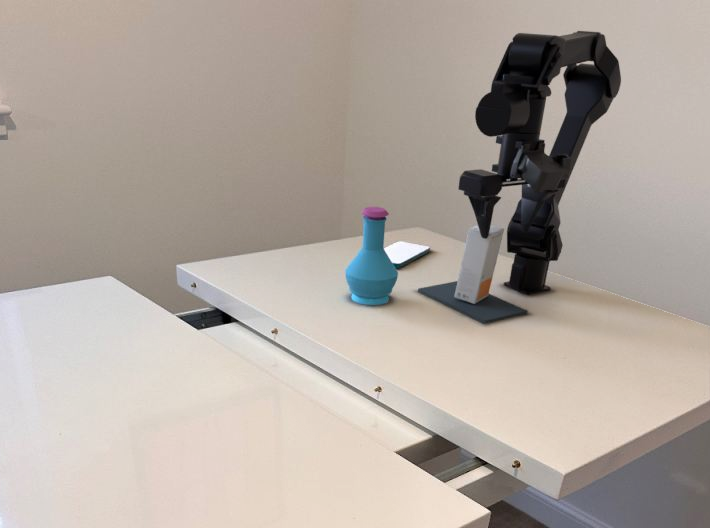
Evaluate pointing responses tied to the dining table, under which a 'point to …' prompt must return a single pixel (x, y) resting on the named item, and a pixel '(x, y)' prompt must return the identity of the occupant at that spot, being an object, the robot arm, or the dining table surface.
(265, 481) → the dining table surface
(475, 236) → the cosmetic box
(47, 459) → the dining table surface
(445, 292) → the side mat
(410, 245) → the smartphone
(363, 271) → the perfume bottle
